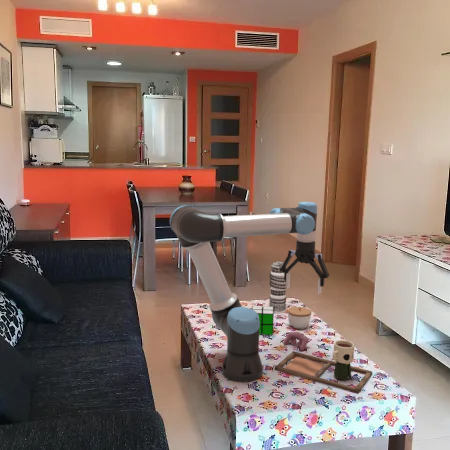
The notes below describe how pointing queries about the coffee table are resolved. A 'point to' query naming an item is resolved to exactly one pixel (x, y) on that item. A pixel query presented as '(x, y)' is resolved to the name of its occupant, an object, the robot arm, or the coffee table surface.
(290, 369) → the rail frame
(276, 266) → the decorative candle
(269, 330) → the puzzle cube
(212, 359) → the coffee table surface
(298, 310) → the lidded jar
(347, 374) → the character mug
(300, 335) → the video game controller
